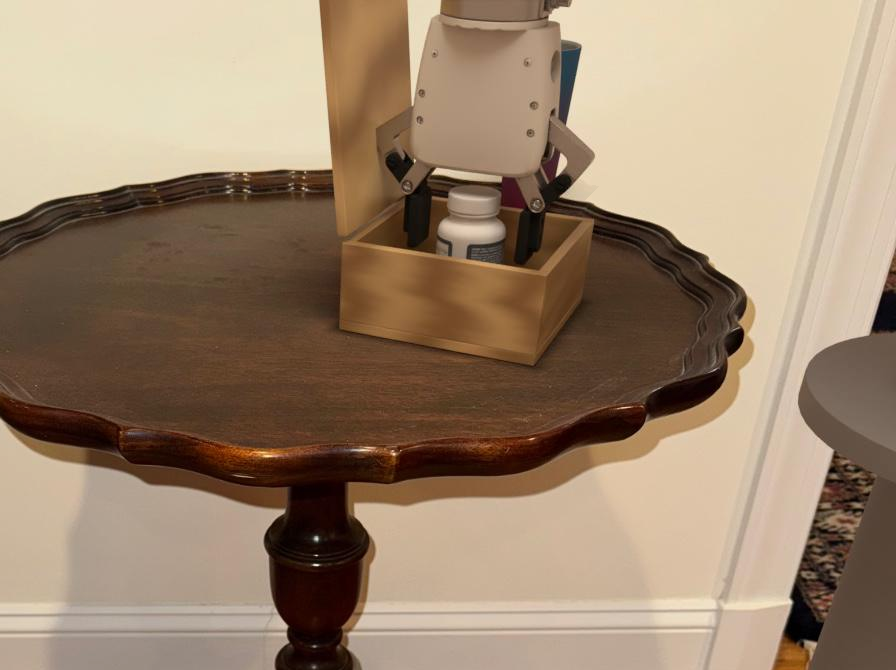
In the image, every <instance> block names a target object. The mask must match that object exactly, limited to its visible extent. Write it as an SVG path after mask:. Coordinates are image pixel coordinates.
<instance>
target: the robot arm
mask: <svg viewBox="0 0 896 670" xmlns="http://www.w3.org/2000/svg"><path fill="white" fill-rule="evenodd" d="M572 3H573V0H440V8H439V14H436V15H434V16H432V17H431V18H430V22H429V24H428V28H427V32H426V35H425V40H424V45H423V49H422V53H421V57H420V63H419V67H418V73H417V78H416V84H415V91H414V97H413V103H412V106H411V107H410V108H408V109H407V110H405V111H403V112H402V113H400V114H398V115H397V116H395V117H394V118H392V119H390V120H389V121H387V122H386V123H384V124H382V125H381V126H379V127H378V128H376V142H377V146H378V148H379V150H380V152H381V153H382V155H383V156H384V158H385V163H386V166H387V167H388V169H389V170H390V171H391V173H392V174H393V175H394V177H395V178H396V179H397V181H398V182H399V183H400V189H401V191H402V192H403V193H404V194H405V195H404V198H405V207H404V222H403V230H404V232H408V237H407V247H411V248H415V247H417V246H418V245H420V244H421V243H422V242H423V241H424V240H426V239H427V238H428V236H429V226H430V214H431V202H432V196H433V189H432V188H431V187H432V186H430V185H429V181H428V180H429V178H430V177H431V176H432V175H433V173H434V172H435V171H436V169H443V170H448V171H449V170H450V171H456V172H465V173H472V174H479V175H487V176H494V177H501V178H502V177H511V178H515V179H516V181H517V183H518V186H519V188H520V190H521V192H522V194H523V196H524V198H525V201H526V208H525V209H524V210H523V211H522V212H521V213H520V217H519V225H518V232H517V240H516V248H515V256H514V262H516V264H517V265H524V264H525V263H526V262H527V261H528V260H529V259H530V257H531V256H532V255H533V252H536V253H537V252H538V251H539V250H540V247H541V244H542V237H543V230H544V223H545V216H546V213H547V210H548V209H547V206H548V205H549V204H550V205H551V204H552V203H553V202H554V201H556V200H557V199H558V198H560V197H562V196H563V194H565V193H566V192H567V191H568V190H570V189H571V187H573V185H574V184H575V183H576V181H578V179H579V178H580V177H581V176H582V175H583V174H584V173H585V172H586V170H587V169H588V168H589V166H590V165H592V163H594V161H595V159H596V154H595V152H594V151H593V150H592V149H591V148H590V147H589V146H588V145H587V144H586V143H585V142H584V141H583V140H581V138H580V137H579V136H577V135H576V134H575V133H574V132H573V131H572V130H571V129H570V128H569V127H568V126H567V124H566V125H565V124H563V123H562V122H561V121H560V120H559V119H558V112H559V98H560V81H561V39H562V35H561V33H562V32H561V24H560V22H558V21H554V20H549V19H550V18H549V17H550V15H552V14H553V11H555V9H557V10H558V9H560V8H570V7H571V5H572ZM410 127H411V132H410V150H411V154H412V156H413V158H414V162H413V161H412V160H411V158H410V157H409V156H408V154H407V153H406V152H405V151H404V150H402V148H401V146H400V145H401V144H400V142H399V135H400V133H401V132H403V131H405V130H406V129H408V128H410ZM554 148H556V149H557V150H558V151H560V152H561V153H560V154H561V155H563V157H564V158H565V159H566V166H565V167H564V168H563V169H562V170H561V172H560V173H559V174H558V175H556V178H554V179H553V180H552V181H551V182H549V181H548V179H547V177H546V175H545V172H544V170H543V168H542V166H541V165H542V164H545V163H547V162H549V161H550V160H551V158H552V156H553V153H554Z"/></svg>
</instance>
